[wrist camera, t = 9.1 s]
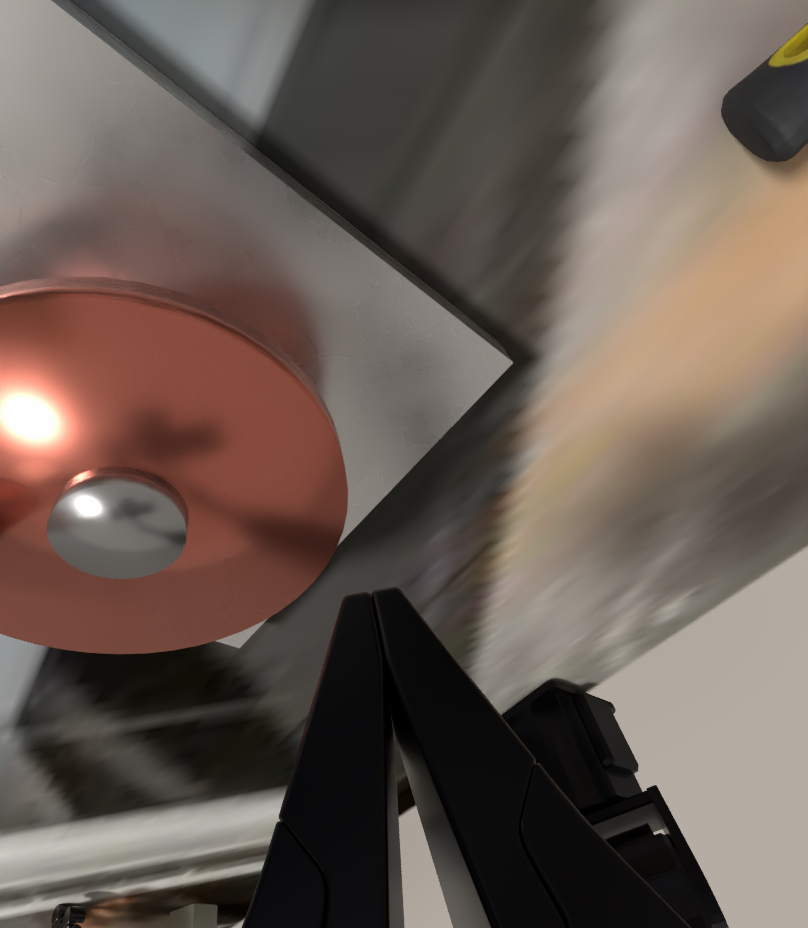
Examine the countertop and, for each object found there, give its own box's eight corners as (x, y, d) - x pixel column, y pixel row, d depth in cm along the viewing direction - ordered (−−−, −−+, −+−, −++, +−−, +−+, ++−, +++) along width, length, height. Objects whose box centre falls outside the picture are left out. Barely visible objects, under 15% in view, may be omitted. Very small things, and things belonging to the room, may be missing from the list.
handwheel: (333, 264, 13) (368, 383, 9) (349, 594, 20) (374, 746, 16) (-265, 291, 11) (-546, 457, 7) (-24, 645, 18) (-101, 832, 14)
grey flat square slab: (239, 618, 26) (238, 703, 23) (-242, 461, 18) (-345, 561, 15) (498, 340, 20) (542, 404, 17) (-41, -88, 12) (-143, -114, 9)
